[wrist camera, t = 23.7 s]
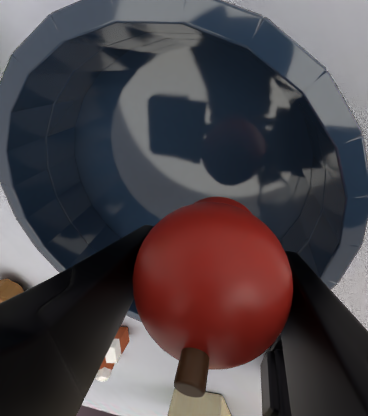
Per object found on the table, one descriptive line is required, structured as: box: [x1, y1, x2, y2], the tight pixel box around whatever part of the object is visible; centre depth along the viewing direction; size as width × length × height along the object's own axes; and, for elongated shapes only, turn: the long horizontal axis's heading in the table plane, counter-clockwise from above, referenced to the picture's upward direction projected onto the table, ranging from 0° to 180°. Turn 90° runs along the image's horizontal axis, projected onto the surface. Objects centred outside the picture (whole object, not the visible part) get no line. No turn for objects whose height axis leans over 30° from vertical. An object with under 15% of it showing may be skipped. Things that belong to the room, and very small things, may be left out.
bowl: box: [0, 0, 368, 322], centre depth 12 cm, size 15×15×5 cm
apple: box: [133, 197, 293, 398], centre depth 7 cm, size 5×5×6 cm
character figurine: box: [0, 279, 129, 382], centre depth 25 cm, size 12×5×18 cm
